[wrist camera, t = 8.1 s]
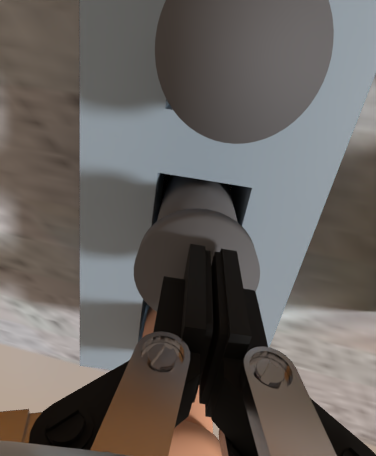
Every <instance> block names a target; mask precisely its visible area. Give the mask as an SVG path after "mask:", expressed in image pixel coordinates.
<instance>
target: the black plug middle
mask: <svg viewBox="0 0 376 456" xmlns="http://www.w3.org/2000/svg"><path fill="white" fill-rule="evenodd" d="M190 244H196V245H202V246H205V250H208V251H211V265H212V260H213V256H214V253H215V252H220V250H221V249H227V250H234V251H237V254H238V260H239V266H240V271H241V277H242V283H243V288H244V289H250V290H254V291H255V292H256V290H257V287H258V284H259V280H260V265H259V261H258V257H257V254H256V251H255V248H254V244H253V242H252V240H251V238H250V236H249V234H248V233H247V232H246V230H245V229H244V228H243V227H242V226H241V225H240V224H239V223H238V222H237V217H236V213H235V209H234V205H233V201H232V197H231V193H230V189H229V185H228V184H225V183H219V182H213V181H207V180H201V179H194V178H188V177H182V176H176V175H171V176H170V178H169V180H168V182H167V186H166V189H165V193H164V197H163V200H162V204H161V208H160V211H159V215H158V219H157V222H156V223H154V224H153V225H152V226H151V227H150V228H149V230H148V231H147V232H146V234H145V235H144V237H143V239H142V241H141V244H140V247H139V250H138V253H137V256H136V259H135V263H134V281H135V284H136V287H137V290H138V292H139V294H140V295H141V297H142V298H143V300H144V301H145V302H146V303H147V304H148V305H149V306H150V307H151V308H152V309H153V310H155V311H156V312H157V309H158V304H159V299H160V293H161V288H162V283H163V277H164V276H166V277H172V278H179V279H184V273H185V268H186V263H187V257H188V252H189V247H190Z"/></svg>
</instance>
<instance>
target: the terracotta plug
mask: <svg viewBox="0 0 376 456" xmlns="http://www.w3.org/2000/svg"><path fill="white" fill-rule="evenodd" d="M156 315H157V312H156V311H155V310H153V309H152V308H151V307H149V309H148V312H147V317H146V321H145V326H144V331H143V336H142V338H143V337H144V336H145V335H147V334H150V333H153V331H154V325H155V320H156ZM168 456H222V453H221V447H220V442H219V440H218V439H217V438H216V436H215V435H214V434H213V426H212V420H211V417H205V404H200V403H199V387H198V391H197V395H196V399H195V402H194V403H192V406H191V410H190V413H189V416H188V417H187V418H186V419H185V420H184V421H182V422H181V423H180V424H179V425H177V426H176V427H175V428H174V433H173V437H172V441H171V446H170V450H169V455H168Z"/></svg>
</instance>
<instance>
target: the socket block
mask: <svg viewBox="0 0 376 456" xmlns="http://www.w3.org/2000/svg"><path fill="white" fill-rule="evenodd" d="M165 1H166V0H79V30H80V366H86V367H93V368H101V369H108V370H113V369H115V368H117V367H118V366H120V365H122V364H124V363H125V362H127V361H129V360H130V358H131V356H132V354H133V351H134V349H135V347H136V345H137V343H138V342H139V341H140V339H142V336H143V331H144V326H145V321H146V317H147V312H148V309H149V307H150V306H149V305H148V304H147V303H146V302H145V301H144V300H143V298H142V297H141V295H140V294H139V292H138V290H137V287H136V284H135V281H134V263H135V259H136V256H137V253H138V250H139V247H140V244H141V241H142V239H143V237H144V235H145V234H146V232H147V231H148V230H149V228H150V227H151V226H152V225H153V224H154V223H156V222H157V219H158V215H159V211H160V207H161V199H162V192H163V184H164V176H165V174H170V175H176V176H182V177H188V178H194V179H201V180H207V181H213V182H219V183H225V184H232V186H231V190H230V193H231V197H232V201H233V205H234V209H235V213H236V217H237V222H238V223H239V224H240V225H241V226H242V227H243V228H244V229H245V230H246V232H247V233H248V234H249V236H250V238H251V240H252V242H253V244H254V248H255V251H256V254H257V257H258V261H259V265H260V280H259V284H258V287H257V290H256V296H257V300H258V304H259V309H260V313H261V318H262V322H263V326H264V331H265V335H266V340H267V344H268V347H270V344H271V342H272V339H273V336H274V334H275V331H276V329H277V326H278V324H279V321H280V318H281V316H282V313H283V311H284V308H285V306H286V303H287V300H288V298H289V295H290V293H291V290H292V287H293V285H294V282H295V280H296V277H297V275H298V272H299V269H300V267H301V264H302V262H303V259H304V257H305V254H306V251H307V249H308V246H309V244H310V241H311V239H312V236H313V233H314V231H315V228H316V226H317V223H318V221H319V218H320V215H321V213H322V210H323V208H324V205H325V203H326V200H327V197H328V195H329V192H330V190H331V187H332V184H333V182H334V179H335V177H336V174H337V172H338V169H339V166H340V164H341V161H342V159H343V156H344V154H345V151H346V148H347V146H348V143H349V141H350V138H351V136H352V133H353V130H354V128H355V125H356V123H357V120H358V118H359V115H360V112H361V110H362V107H363V105H364V102H365V99H366V97H367V94H368V92H369V89H370V87H371V84H372V81H373V79H374V76H375V74H376V0H329V3H330V7H331V12H332V16H333V27H334V39H333V50H332V56H331V61H330V64H329V68H328V71H327V74H326V77H325V79H324V82H323V84H322V86H321V88H320V90H319V92H318V93H317V95H316V97H315V98H314V100H313V101H312V103H311V104H310V105H309V106H308V108H307V109H306V110H305V111H304V112H303V114H302V115H301V116H300V117H298V118H297V119H296V120H295V121H294V122H293V123H292V124H290V125H289V126H288V127H286V128H285V129H284V130H282V131H280V132H278V133H277V134H275V135H273V136H270V137H268V138H266V139H263V140H259V141H256V142H251V143H245V144H231V143H223V142H219V141H214V140H212V139H209V138H207V137H204V136H202V135H201V134H199V133H197V132H195V131H194V130H193V129H191V128H190V127H189V126H187V125H186V124H185V123H184V122H183V121H182V120H181V119H180V118H179V117H178V116H177V114H176V113H175V112H174V111H173V109H172V108H171V106H170V104H169V103H168V101H167V99H166V97H165V95H164V93H163V91H162V88H161V85H160V82H159V79H158V74H157V69H156V62H155V37H156V31H157V25H158V21H159V17H160V14H161V11H162V8H163V6H164V3H165Z"/></svg>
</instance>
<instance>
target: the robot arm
mask: <svg viewBox="0 0 376 456" xmlns="http://www.w3.org/2000/svg"><path fill="white" fill-rule="evenodd" d="M198 387H199V403H200V404H205V417H211V420H212V421H213V422H214V423H215V424H216V425H217V426H218V428H219V442H220V447H221V453H222V456H376V455H375V453H374V452H373V451H372V450H371V449H369V448H368V447H367V446H366V445H365V444H364V443H363V442H361V441H360V440H359V439H358V438H357V437H355V436H354V435H353V434H352V433H351V432H350V431H348V430H347V429H346V428H345V427H344V426H342V425H341V424H340V423H339V422H338V421H337V420H335V419H334V418H333V417H332V416H331V415H330V414H328V413H327V412H326V411H325V410H324V409H322V408H321V407H320V406H319V405H318V404H317V403H315V402H314V401H313V400H312V399H311V398H310V397H309V395H308V392H307V390H306V388H305V386H304V384H303V382H302V379H301V377H300V375H299V373H298V371H297V369H296V367H295V366H294V364H293V362H292V361H291V360H290V359H289V358H288V357H287V356H286V355H284V354H283V353H281V352H280V351H278V350H275V349H273V348H270V347H268V344H267V340H266V335H265V331H264V326H263V322H262V318H261V313H260V309H259V304H258V300H257V296H256V292H255V291H254V290H250V289H244V288H243V283H242V277H241V271H240V266H239V260H238V254H237V251H234V250H227V249H221V250H220V252H215V253H214V256H213V260H212V265H211V251H208V250H205V246H202V245H196V244H190V247H189V252H188V257H187V263H186V268H185V273H184V279H179V278H172V277H166V276H164V277H163V283H162V288H161V293H160V299H159V304H158V309H157V315H156V320H155V325H154V331H153V333H150V334H147V335H145V336H144V337H143V338H142V339H140V341H139V342H138V343H137V345H136V347H135V349H134V351H133V354H132V356H131V358H130V360H129V361H127V362H125V363H124V364H122V365H120V366H118V367H117V368H115V369H113V370H111V371H110V372H108V373H106V374H105V375H103V376H101V377H99V378H98V379H96V380H94V381H92V382H91V383H89V384H87V385H85V386H84V387H82V388H80V389H78V390H77V391H75V392H73V393H71V394H70V395H68V396H66V397H65V398H63V399H61V400H59V401H58V402H56V403H54V404H52V405H51V406H50V407H49V408H47V409H46V410H45V411H43V412H39V413H29V409H24V410H13V411H3V412H0V456H168V455H169V450H170V446H171V441H172V437H173V433H174V428H175V427H176V426H177V425H179V424H180V423H181V422H182V421H184V420H185V419H186V418H187V417H188V416H189V413H190V410H191V406H192V403H194V402H195V399H196V395H197V391H198Z"/></svg>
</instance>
